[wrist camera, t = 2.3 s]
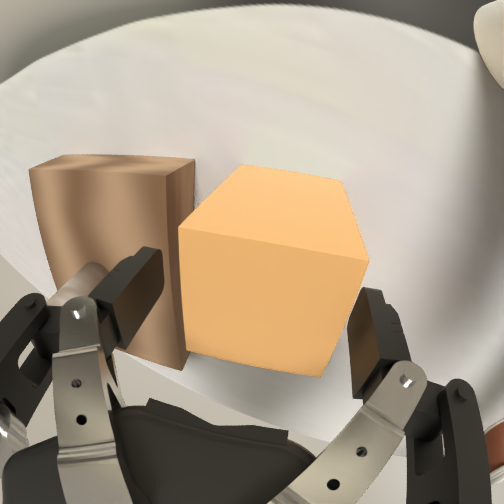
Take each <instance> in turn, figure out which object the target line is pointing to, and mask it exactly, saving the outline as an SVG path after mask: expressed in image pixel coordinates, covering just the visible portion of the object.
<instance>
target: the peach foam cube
mask: <svg viewBox="0 0 504 504" xmlns="http://www.w3.org/2000/svg"><path fill="white" fill-rule="evenodd" d="M178 238H179V262H180V280H181V295H182V308H183V320H184V331H185V341H186V350H187V351H191V352H195V353H199V354H202V355H206V356H210V357H214V358H219V359H223V360H227V361H232V362H236V363H241V364H245V365H250V366H255V367H260V368H265V369H271V370H276V371H282V372H288V373H294V374H300V375H307V376H314V377H322V374H323V372H324V370H325V368H326V366H327V364H328V362H329V360H330V358H331V356H332V353H333V351H334V349H335V347H336V345H337V342H338V340H339V338H340V335H341V333H342V331H343V329H344V326H345V324H346V321H347V319H348V317H349V314H350V312H351V309H352V307H353V304H354V302H355V299H356V296H357V294H358V291H359V289H360V286H361V283H362V280H363V278H364V275H365V272H366V269H367V266H368V264H369V258H368V255H367V252H366V249H365V246H364V242H363V239H362V236H361V233H360V230H359V228H358V225H357V222H356V219H355V216H354V213H353V211H352V208H351V205H350V202H349V200H348V197H347V194H346V192H345V189H344V187H343V184H342V182H341V181H339V180H334V179H329V178H324V177H318V176H313V175H307V174H302V173H296V172H290V171H284V170H277V169H271V168H264V167H257V166H250V165H241V166H239V167H238V168H237V169H236V170H235V171H234V172H233V173H232V174H231V175H230V176H229V177H228V178H227V179H226V180H225V181H224V182H223V183H222V184H221V185H219V186H218V187H217V188H216V189H215V190H214V191H213V192H212V193H211V194H210V195H209V196H208V197H207V198H206V199H205V200H204V201H203V202H202V203H201V204H200V205H199V206H198V207H197V208H196V209H195V210H194V211H193V212H192V213H191V214H190V215H189V216H188V217H187V218H186V219H185V220H184V221H183V222H182V224H181V225H180V226H179V227H178Z"/></svg>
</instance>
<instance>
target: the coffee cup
mask: <svg viewBox="0 0 504 504" xmlns="http://www.w3.org/2000/svg"><path fill="white" fill-rule="evenodd" d="M484 434H485V441H486V448H487V455H488V462H489V471H490V482H491V485H495V484H497V483H500V482H502V481H504V418H503V419H501V420H499V421H497V422H496V423H494V424H493V425H491V426H490V427H489V428H488V429H486V431H485V432H484Z"/></svg>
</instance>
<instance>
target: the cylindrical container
mask: <svg viewBox="0 0 504 504" xmlns="http://www.w3.org/2000/svg"><path fill="white" fill-rule="evenodd" d="M474 34H475V39H476V43H477V46H478V49H479V52H480V54H481V56H482V59H483V61H484V63H485V65H486V66H487V68H488V70H489V72H490V73H491V75H492V76H493V77H494V79H495V80H496V81H497V83H498V84H499V85H500V86H501V87H502V88H503V89H504V0H497V1H494V2H491V3H489V4H487V5H484V6H482V7H481V8H479V10H478V11H477V12H476V15H475V18H474Z"/></svg>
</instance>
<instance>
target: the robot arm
mask: <svg viewBox="0 0 504 504" xmlns="http://www.w3.org/2000/svg"><path fill="white" fill-rule="evenodd" d="M164 283H165V279H164V267H163V255H162V251H161V250H160V249H156V248H151V247H146V246H143V247H141V248H140V249H139V251H138V252H137V253H136V254H135V255H134V256H129V257H127V258H125V259H123V260H121V261H120V262H119V263H118V264H117V265H116V266H115V267H114V268H113V270H111V271H110V272H109V273H108V274H107V276H105V277H104V278H103V279H102V281H101V282H100V283H99V284H98V285H97V286H96V287H95V288H94V289H93V290H92V291H91V293H90V294H89V295H88V296H77V297H74V298H71V299H70V300H68V301H67V302H66V303H65V304H64V305H63V306H51V305H47V303H46V300H45V298H44V296H43V295H41V294H39V293H31V294H28V295H26V296H24V297H23V298H21V299H20V300H19V301H18V302H17V303H16V304H15V306H14V307H13V308H12V309H11V310H10V311H9V312H8V314H7V315H6V316H5V317H4V318H3V319H2V320H1V322H0V478H1V479H2V491H3V504H355V503H356V502H357V501H358V499H359V498H360V497H361V496H362V495H363V494H364V493H365V491H366V490H367V489H368V488H369V486H370V485H371V484H372V482H373V481H374V480H375V478H376V477H377V476H378V474H379V473H380V472H381V470H382V469H383V467H384V466H385V465H386V463H387V462H388V460H389V459H390V457H391V456H392V454H393V453H394V451H395V450H396V448H397V447H398V445H399V444H400V442H401V440H402V439H403V437H404V435H406V449H407V498H406V504H492V500H491V482H490V471H489V462H488V455H487V448H486V442H485V436H484V431H483V426H482V421H481V416H480V412H479V408H478V404H477V400H476V396H475V392H474V390H473V388H472V387H471V386H470V384H468V383H467V382H466V381H464V380H462V379H453V380H451V381H450V382H449V383H448V384H447V385H446V386H442V385H439V384H436V383H433V382H430V381H427V378H426V375H425V373H424V371H423V370H422V369H421V368H420V367H419V366H418V365H417V364H415V363H413V362H412V361H411V357H410V353H409V350H408V346H407V342H406V339H405V335H404V334H403V329H402V326H401V322H400V319H399V316H398V313H397V312H396V311H395V309H394V308H393V307H392V306H391V304H386V303H385V300H384V297H383V293H382V291H381V290H378V289H372V288H366V287H363V288H362V289H361V290H360V293H359V295H358V298H357V300H356V303H355V305H354V307H353V310H352V312H351V315H350V317H349V321H348V326H347V333H348V343H349V353H350V365H351V378H352V394H353V399H363V406H362V407H361V409H360V410H359V411H358V412H357V413H356V415H355V416H354V417H353V418H352V419H351V421H350V422H349V423H348V424H347V425H346V426H345V428H344V429H343V430H342V431H341V432H340V433H339V434H338V435H337V436H336V438H335V439H334V440H333V441H332V442H331V443H330V444H329V445H328V446H327V447H326V448H325V449H324V450H323V451H322V452H321V453H320V454H319V455H318V456H317V457H315V456H314V455H313V454H312V453H311V452H310V451H308V450H307V449H306V448H304V447H303V446H301V445H299V444H297V443H295V442H293V441H291V440H288V439H287V437H288V430H280V429H273V428H267V427H261V426H255V425H245V426H244V425H241V426H217V425H213V424H210V423H208V422H206V421H204V420H202V419H200V418H198V417H197V416H195V415H193V414H191V413H189V412H188V411H186V410H184V409H182V408H179V407H176V406H173V405H170V404H166V403H163V402H160V401H157V400H154V399H152V398H149V400H148V402H147V404H146V406H127V407H126V405H125V402H124V399H123V397H122V394H121V390H120V385H119V381H118V376H117V371H116V366H115V361H114V356H113V353H112V352H113V350H114V348H115V347H118V348H121V349H124V350H126V349H127V347H128V346H129V344H130V343H131V341H132V339H133V338H134V336H135V335H136V333H137V331H138V330H139V328H140V327H141V325H142V324H143V322H144V320H145V319H146V317H147V316H148V314H149V313H150V311H151V310H152V308H153V307H154V305H155V304H156V302H157V300H158V299H159V297H160V296H161V294H162V292H163V289H164ZM30 341H31V342H32V344H33V346H34V348H33V350H32V351H31V353H30V354H29V355H28V357H27V358H26V360H25V361H24V363H23V364H22V366H21V367H20V369H19V367H18V359H19V356H20V355H21V353H22V352H23V350H24V349H25V348H26V346H27V345H28V344H29V342H30ZM52 380H53V397H54V409H55V420H56V428H57V436H55V437H52V438H50V439H47V440H45V441H43V442H40V443H37V444H35V445H32V446H30V447H28V446H29V441H28V439H27V438H26V437H27V432H26V427H27V425H28V423H29V421H30V419H31V417H32V415H33V413H34V412H35V410H36V408H37V406H38V404H39V403H40V401H41V399H42V397H43V396H44V394H45V392H46V390H47V389H48V387H49V385H50V384H51V382H52ZM442 434H443V439H444V448H445V455H443V444H442Z"/></svg>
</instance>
